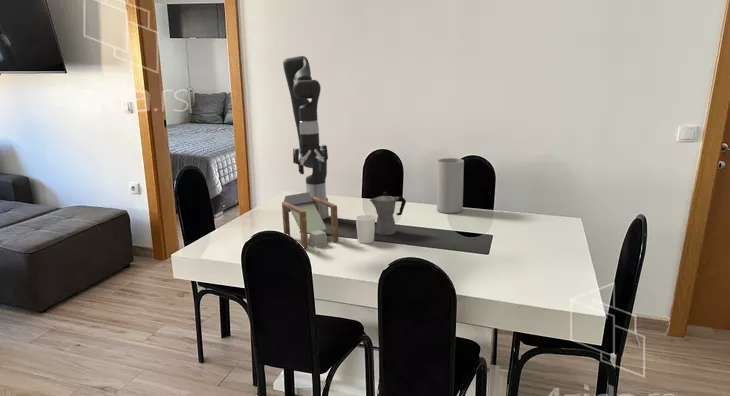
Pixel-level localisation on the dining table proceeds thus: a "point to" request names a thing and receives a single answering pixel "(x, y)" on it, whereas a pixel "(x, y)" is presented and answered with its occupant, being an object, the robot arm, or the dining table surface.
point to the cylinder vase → (450, 185)
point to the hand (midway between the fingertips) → (311, 172)
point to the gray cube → (318, 238)
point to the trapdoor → (306, 204)
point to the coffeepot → (386, 213)
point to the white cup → (365, 228)
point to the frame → (304, 223)
